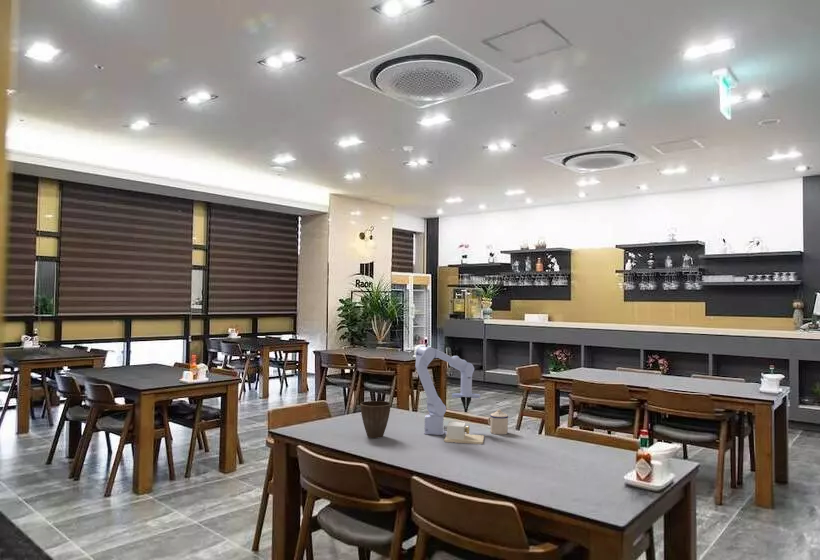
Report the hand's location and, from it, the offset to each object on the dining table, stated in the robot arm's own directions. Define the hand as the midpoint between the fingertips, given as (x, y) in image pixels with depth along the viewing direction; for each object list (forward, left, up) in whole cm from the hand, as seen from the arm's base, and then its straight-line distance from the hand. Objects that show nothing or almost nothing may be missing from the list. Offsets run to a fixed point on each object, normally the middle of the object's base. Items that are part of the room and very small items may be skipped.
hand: (465, 412), depth 295 cm
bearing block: (+1, -20, -9) cm, 22 cm away
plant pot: (-42, -25, -10) cm, 50 cm away
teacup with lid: (+16, 0, -10) cm, 19 cm away
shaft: (-3, -20, -6) cm, 21 cm away
